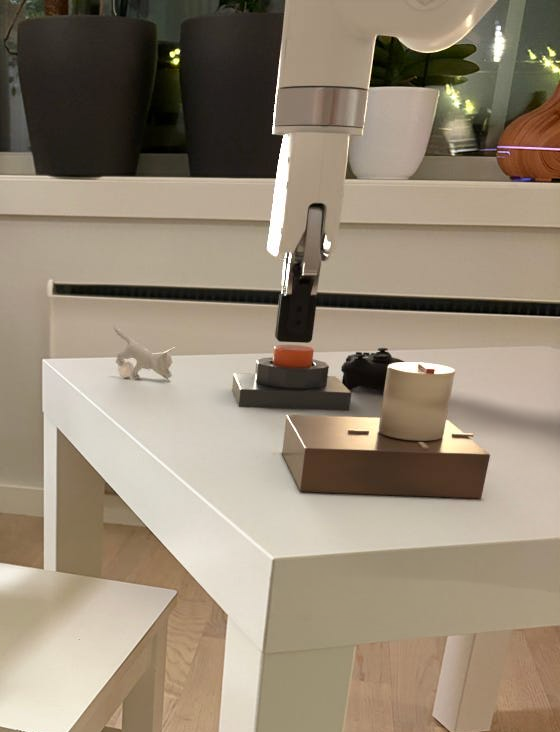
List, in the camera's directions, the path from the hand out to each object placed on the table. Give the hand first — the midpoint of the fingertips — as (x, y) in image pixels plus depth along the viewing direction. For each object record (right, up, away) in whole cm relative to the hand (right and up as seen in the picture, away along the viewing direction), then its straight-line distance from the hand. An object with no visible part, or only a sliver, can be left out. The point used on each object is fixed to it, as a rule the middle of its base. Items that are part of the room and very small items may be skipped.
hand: (292, 340), depth 90 cm
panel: (+1, -16, -20) cm, 26 cm away
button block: (0, -5, +2) cm, 6 cm away
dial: (+3, -13, -22) cm, 26 cm away
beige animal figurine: (-13, -1, +10) cm, 17 cm away
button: (0, -2, +1) cm, 2 cm away
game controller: (+11, -2, +9) cm, 14 cm away
